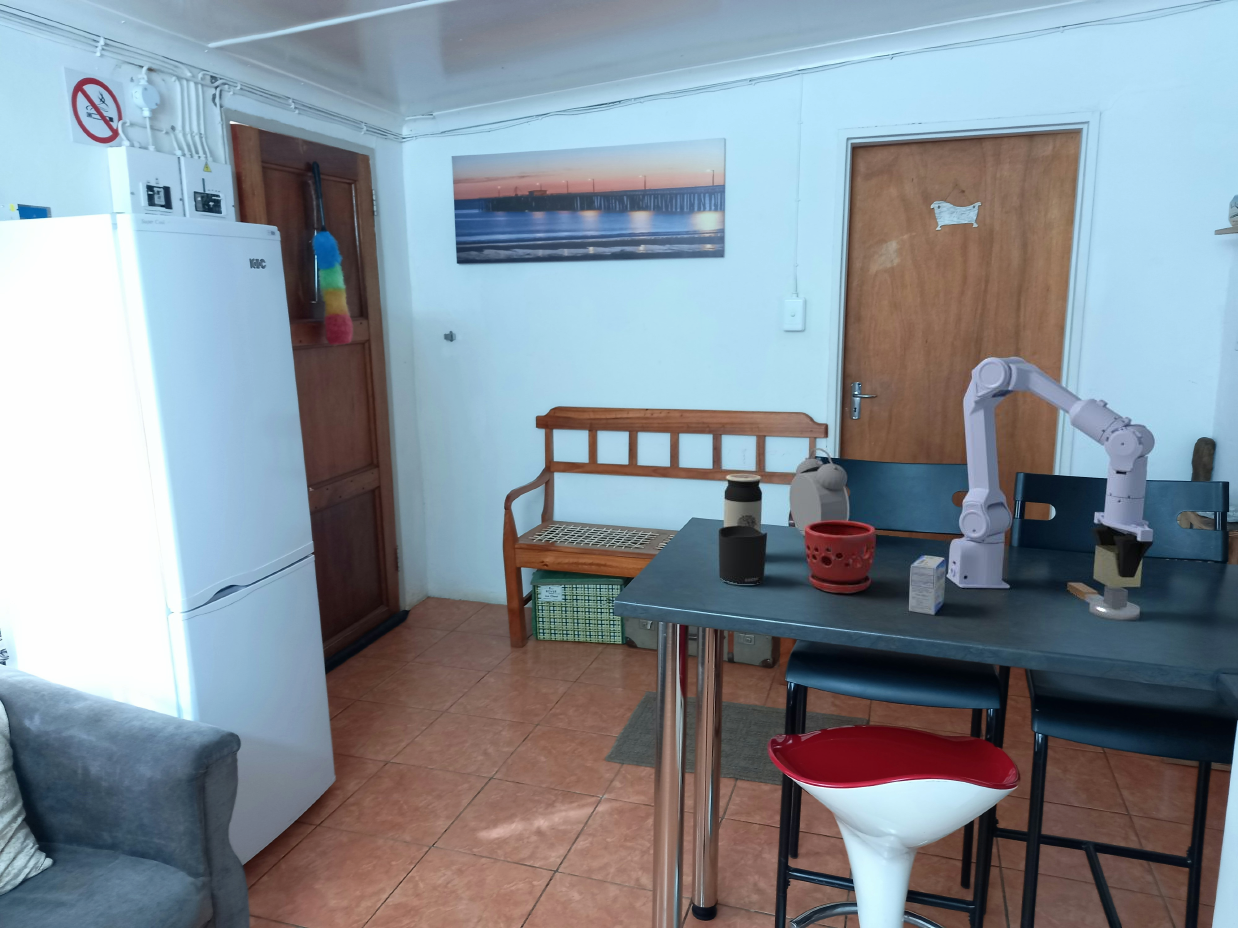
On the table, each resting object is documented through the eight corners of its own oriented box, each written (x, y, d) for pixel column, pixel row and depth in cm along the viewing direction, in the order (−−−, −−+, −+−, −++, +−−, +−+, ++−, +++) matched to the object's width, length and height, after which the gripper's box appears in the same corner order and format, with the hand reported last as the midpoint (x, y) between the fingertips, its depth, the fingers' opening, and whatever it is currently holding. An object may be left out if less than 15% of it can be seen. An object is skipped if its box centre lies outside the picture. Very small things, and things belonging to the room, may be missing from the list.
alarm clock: (851, 546, 197) (856, 452, 193) (818, 549, 194) (822, 453, 191) (815, 531, 212) (819, 443, 209) (784, 533, 210) (787, 444, 207)
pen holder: (713, 584, 166) (714, 534, 165) (722, 572, 175) (723, 524, 173) (761, 589, 163) (763, 538, 162) (768, 576, 172) (770, 527, 171)
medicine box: (934, 616, 148) (937, 567, 147) (907, 611, 150) (910, 563, 149) (943, 604, 155) (946, 557, 153) (918, 600, 157) (921, 554, 156)
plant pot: (818, 574, 174) (820, 516, 172) (882, 585, 166) (885, 525, 164) (791, 589, 163) (794, 528, 161) (858, 601, 156) (862, 537, 154)
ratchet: (1148, 621, 146) (1151, 595, 145) (1103, 620, 146) (1105, 594, 146) (1093, 590, 164) (1095, 567, 163) (1053, 589, 164) (1055, 566, 163)
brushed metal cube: (1109, 586, 147) (1111, 552, 146) (1093, 578, 152) (1095, 545, 151) (1140, 586, 146) (1142, 552, 146) (1123, 578, 152) (1125, 545, 151)
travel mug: (723, 552, 190) (725, 473, 188) (759, 554, 189) (762, 474, 187) (722, 562, 183) (724, 479, 180) (760, 563, 181) (763, 480, 179)
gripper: (1174, 503, 140) (1166, 584, 142) (1124, 488, 154) (1118, 561, 156) (1131, 503, 140) (1123, 583, 142) (1085, 488, 154) (1078, 561, 156)
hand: (1117, 572), depth 149 cm, fingers closed on brushed metal cube, 5 cm apart
